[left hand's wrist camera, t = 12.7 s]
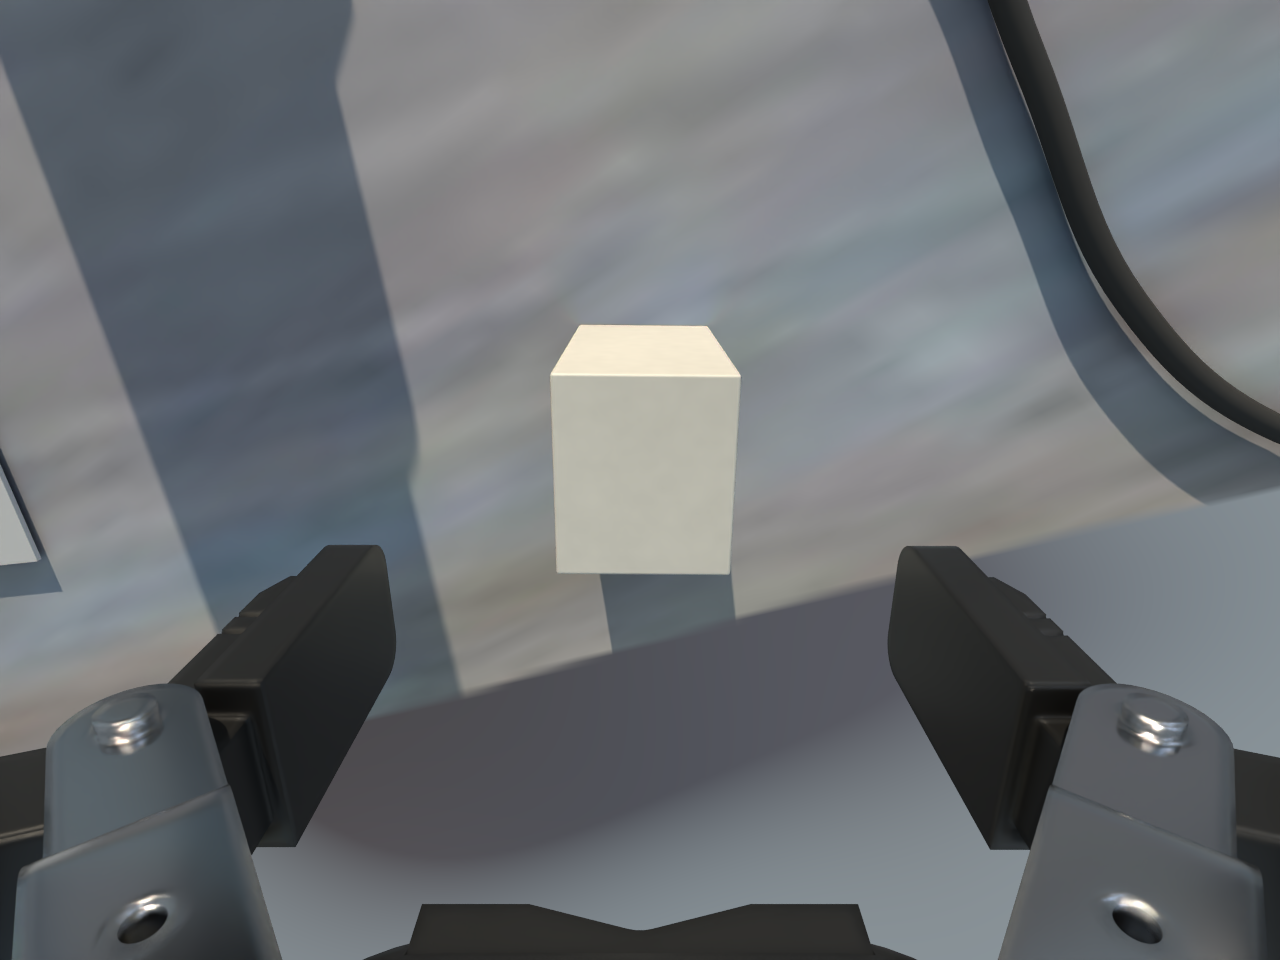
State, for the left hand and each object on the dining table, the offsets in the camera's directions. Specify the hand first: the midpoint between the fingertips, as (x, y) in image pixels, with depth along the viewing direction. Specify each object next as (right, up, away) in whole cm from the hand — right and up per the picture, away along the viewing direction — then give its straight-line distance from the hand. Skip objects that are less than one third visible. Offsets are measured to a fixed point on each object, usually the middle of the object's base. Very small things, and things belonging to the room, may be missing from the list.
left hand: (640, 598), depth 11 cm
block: (0, +5, +14) cm, 15 cm away
